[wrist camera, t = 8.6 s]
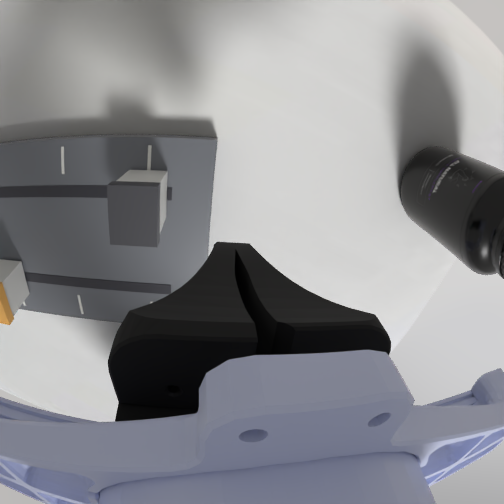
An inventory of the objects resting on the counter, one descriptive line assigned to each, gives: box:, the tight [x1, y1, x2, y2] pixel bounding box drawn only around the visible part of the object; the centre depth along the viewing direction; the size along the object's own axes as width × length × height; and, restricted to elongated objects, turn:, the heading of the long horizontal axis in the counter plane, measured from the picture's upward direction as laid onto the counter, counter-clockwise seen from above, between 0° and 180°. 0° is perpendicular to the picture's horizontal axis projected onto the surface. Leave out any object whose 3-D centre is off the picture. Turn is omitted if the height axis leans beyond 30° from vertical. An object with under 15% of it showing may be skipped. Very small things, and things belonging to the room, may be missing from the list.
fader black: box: [107, 170, 168, 247], centre depth 16 cm, size 3×3×4 cm
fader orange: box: [0, 259, 30, 325], centre depth 18 cm, size 3×3×4 cm
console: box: [0, 134, 217, 322], centre depth 19 cm, size 14×20×2 cm
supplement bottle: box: [401, 147, 504, 279], centre depth 16 cm, size 7×7×12 cm
